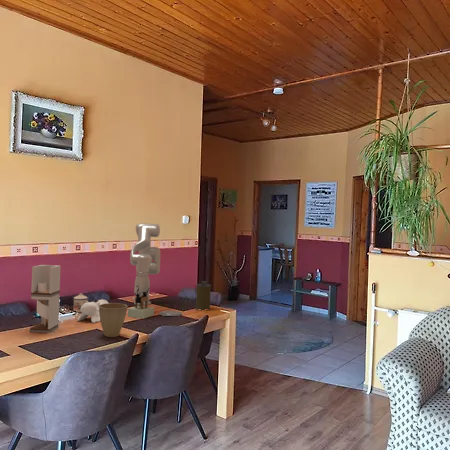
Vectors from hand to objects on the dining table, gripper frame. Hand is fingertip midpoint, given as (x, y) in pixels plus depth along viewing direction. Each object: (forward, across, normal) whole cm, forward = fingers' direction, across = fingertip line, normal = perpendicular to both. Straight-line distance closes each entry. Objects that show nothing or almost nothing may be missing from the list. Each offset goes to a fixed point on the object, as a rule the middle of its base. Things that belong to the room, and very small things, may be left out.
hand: (141, 301), depth 277 cm
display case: (+9, +57, -24) cm, 63 cm away
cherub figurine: (+9, +24, -18) cm, 31 cm away
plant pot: (+9, +47, +14) cm, 50 cm away
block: (+9, 0, 0) cm, 9 cm away
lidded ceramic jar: (+9, +10, -40) cm, 42 cm away
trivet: (+9, -14, +14) cm, 22 cm away
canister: (+10, -42, +24) cm, 49 cm away
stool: (+4, 0, 0) cm, 4 cm away
